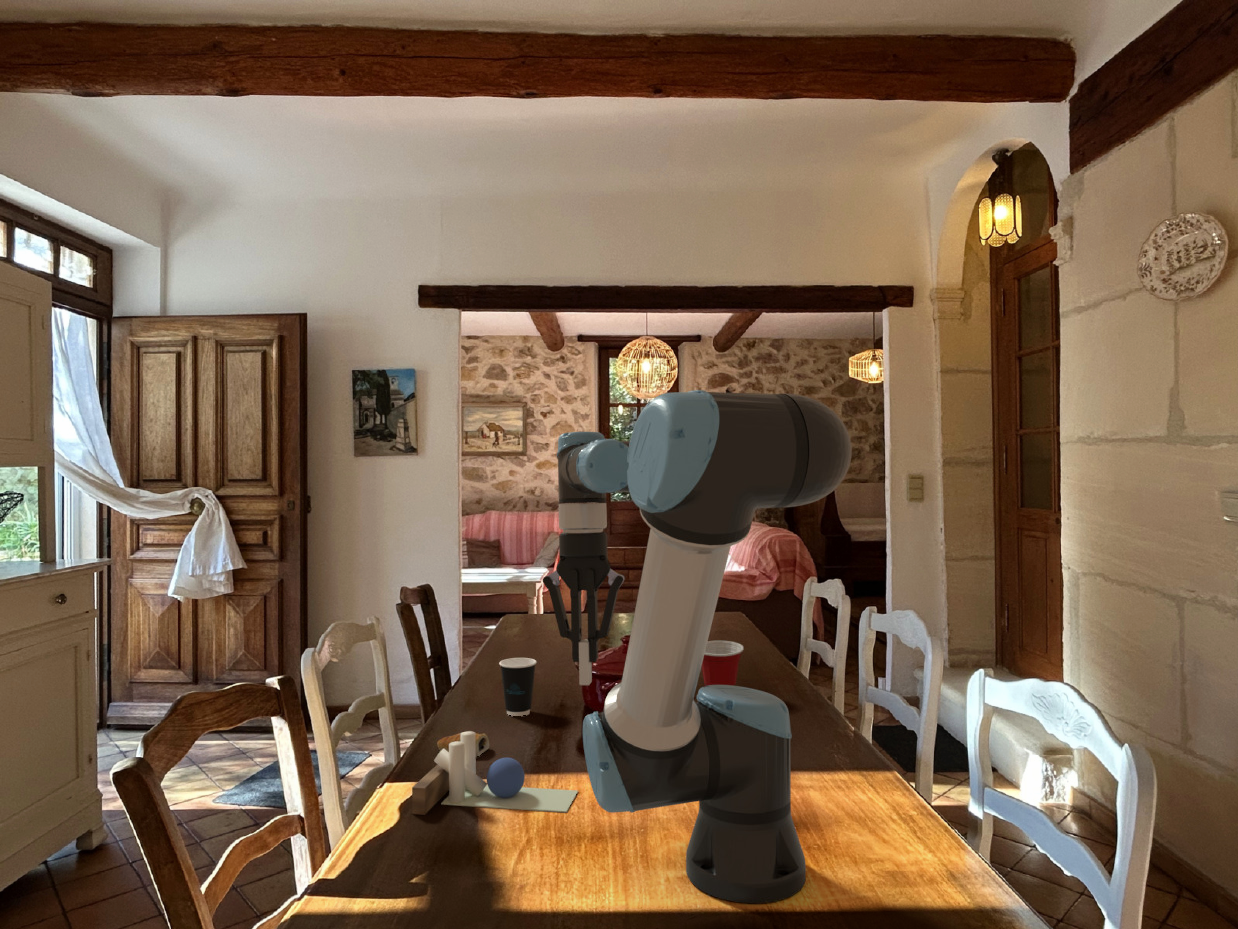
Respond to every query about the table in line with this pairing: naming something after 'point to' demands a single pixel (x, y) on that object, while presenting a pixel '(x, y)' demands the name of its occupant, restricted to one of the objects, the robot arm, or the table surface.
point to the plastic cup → (721, 662)
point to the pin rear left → (469, 750)
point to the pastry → (480, 740)
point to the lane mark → (521, 800)
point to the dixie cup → (518, 684)
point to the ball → (505, 777)
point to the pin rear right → (456, 772)
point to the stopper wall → (429, 790)
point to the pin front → (471, 778)
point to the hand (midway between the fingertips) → (585, 683)
